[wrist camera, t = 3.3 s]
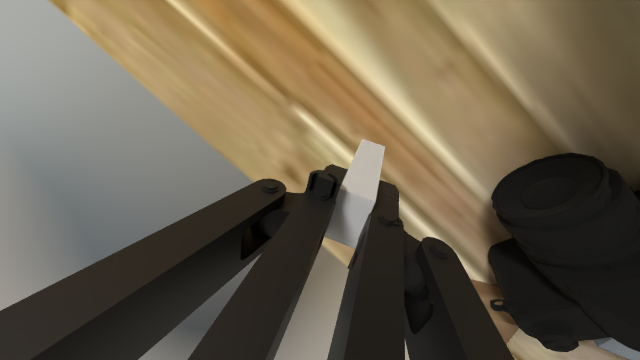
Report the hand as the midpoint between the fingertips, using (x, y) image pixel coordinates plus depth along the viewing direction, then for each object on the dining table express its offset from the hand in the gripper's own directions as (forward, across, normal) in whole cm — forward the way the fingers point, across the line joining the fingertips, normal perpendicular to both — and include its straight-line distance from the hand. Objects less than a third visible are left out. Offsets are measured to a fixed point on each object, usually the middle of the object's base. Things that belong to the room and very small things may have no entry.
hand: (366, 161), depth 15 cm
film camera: (+5, +15, 0) cm, 16 cm away
